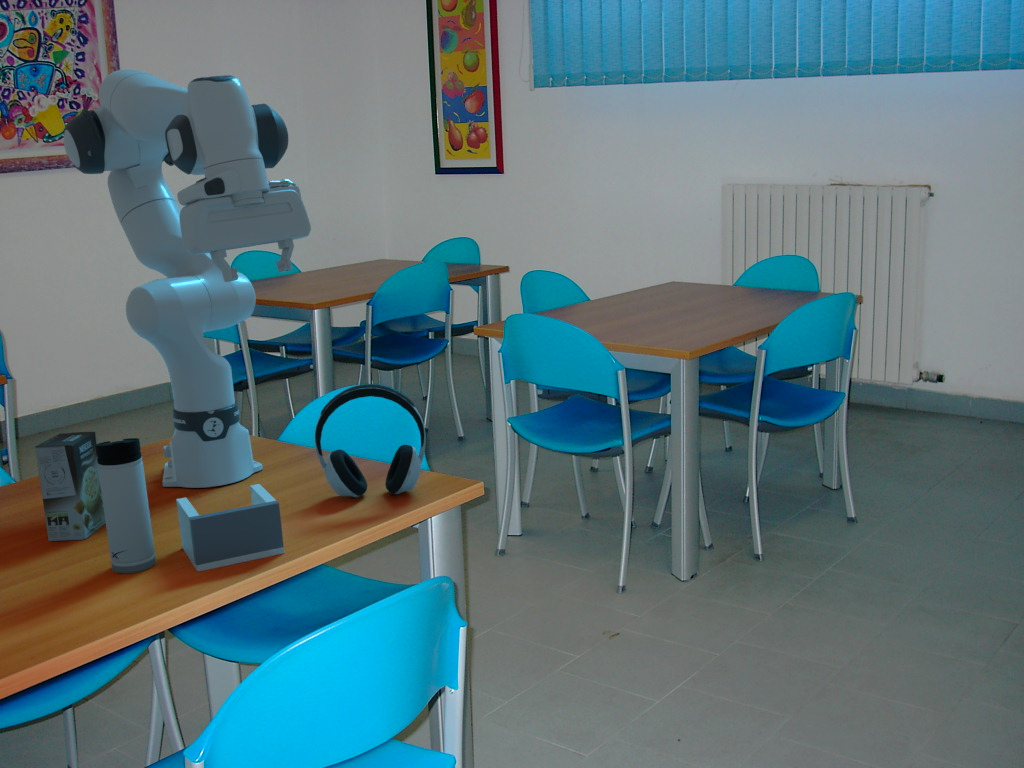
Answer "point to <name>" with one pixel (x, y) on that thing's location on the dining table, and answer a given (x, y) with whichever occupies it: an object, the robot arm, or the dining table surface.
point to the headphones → (342, 466)
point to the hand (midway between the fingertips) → (259, 276)
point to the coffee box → (70, 486)
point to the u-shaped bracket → (231, 532)
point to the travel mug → (125, 505)
